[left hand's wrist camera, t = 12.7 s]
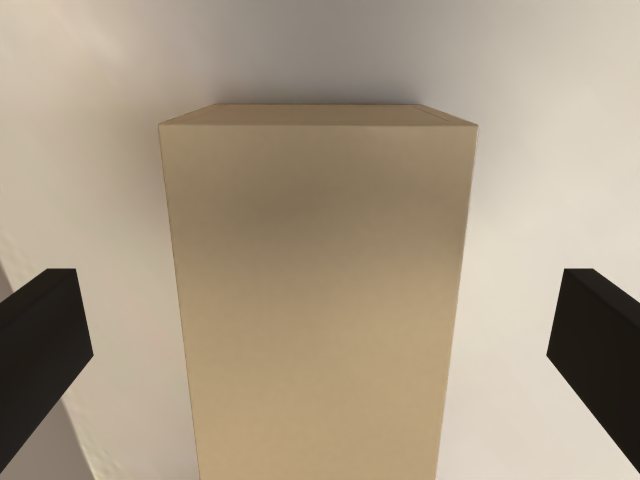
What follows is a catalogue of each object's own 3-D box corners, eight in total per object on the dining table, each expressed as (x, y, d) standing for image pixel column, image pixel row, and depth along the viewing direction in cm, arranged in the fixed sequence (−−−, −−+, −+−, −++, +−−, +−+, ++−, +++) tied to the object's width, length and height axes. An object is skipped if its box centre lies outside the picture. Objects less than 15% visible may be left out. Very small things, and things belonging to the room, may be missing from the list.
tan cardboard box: (401, 374, 30) (434, 494, 22) (234, 374, 30) (201, 493, 22) (423, 104, 24) (480, 124, 16) (214, 103, 24) (157, 123, 16)
